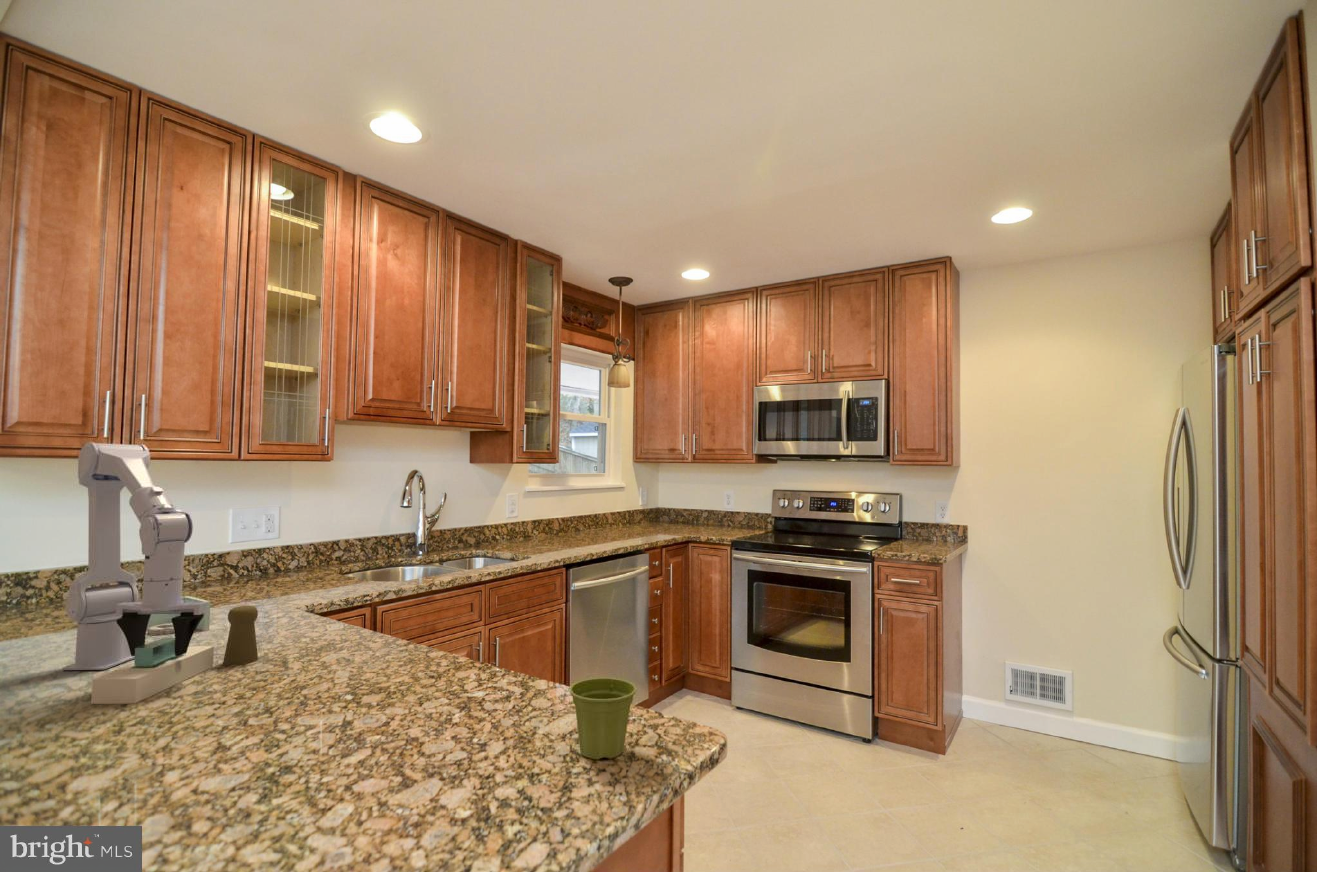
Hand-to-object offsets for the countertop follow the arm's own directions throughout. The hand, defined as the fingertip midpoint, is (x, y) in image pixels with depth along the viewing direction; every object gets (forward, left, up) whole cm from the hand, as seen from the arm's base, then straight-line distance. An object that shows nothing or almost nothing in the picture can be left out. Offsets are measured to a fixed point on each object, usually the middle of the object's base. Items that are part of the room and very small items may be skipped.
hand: (159, 654), depth 115 cm
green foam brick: (0, 0, -3) cm, 3 cm away
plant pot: (+31, +82, -6) cm, 87 cm away
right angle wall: (-39, -25, -6) cm, 46 cm away
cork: (-14, +7, -5) cm, 16 cm away
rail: (0, 0, -5) cm, 5 cm away
